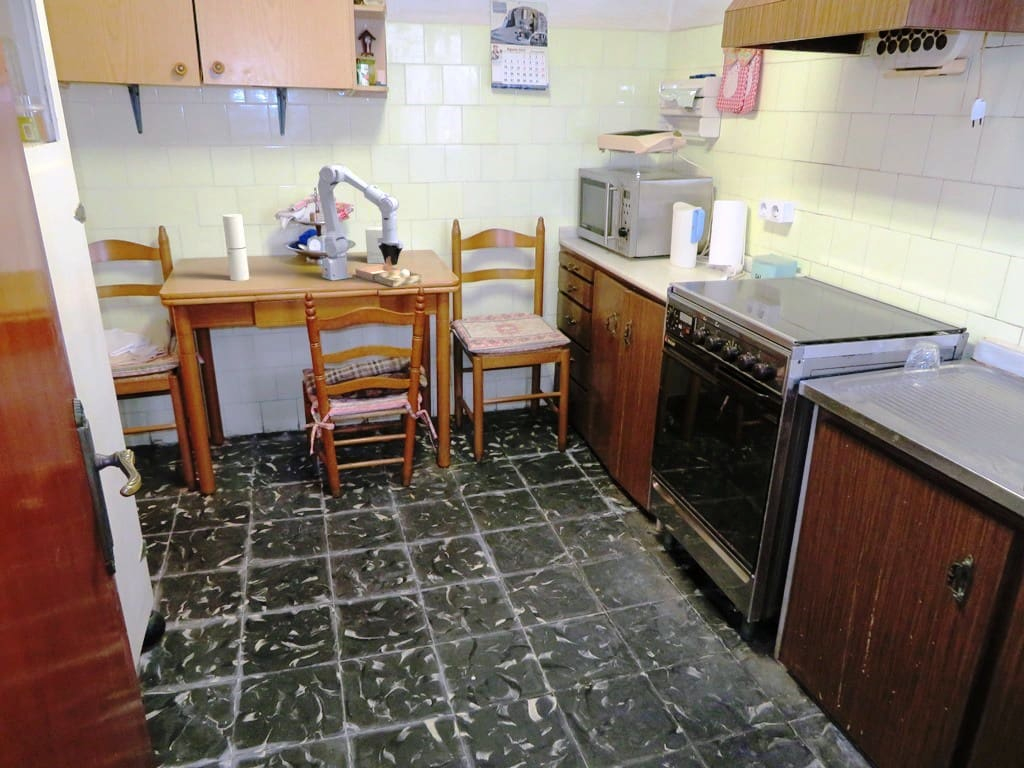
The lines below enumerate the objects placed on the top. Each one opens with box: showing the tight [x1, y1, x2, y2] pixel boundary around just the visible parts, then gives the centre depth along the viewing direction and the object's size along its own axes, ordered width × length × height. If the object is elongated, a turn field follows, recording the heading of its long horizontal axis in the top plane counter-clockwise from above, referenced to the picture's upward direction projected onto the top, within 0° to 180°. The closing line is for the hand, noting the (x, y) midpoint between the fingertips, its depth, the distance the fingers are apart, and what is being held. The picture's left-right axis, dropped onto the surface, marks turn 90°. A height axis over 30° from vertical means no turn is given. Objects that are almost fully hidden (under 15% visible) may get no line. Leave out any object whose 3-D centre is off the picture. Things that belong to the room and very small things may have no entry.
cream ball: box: [400, 269, 410, 278], centre depth 292 cm, size 4×4×4 cm
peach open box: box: [355, 264, 403, 282], centre depth 299 cm, size 14×12×3 cm
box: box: [373, 269, 423, 288], centre depth 290 cm, size 14×12×3 cm
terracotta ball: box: [385, 256, 395, 267], centre depth 286 cm, size 4×4×4 cm
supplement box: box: [365, 225, 387, 265], centre depth 321 cm, size 9×9×15 cm
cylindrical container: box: [222, 213, 250, 282], centre depth 285 cm, size 7×7×25 cm
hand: (391, 263), depth 286 cm, fingers closed on terracotta ball, 4 cm apart
